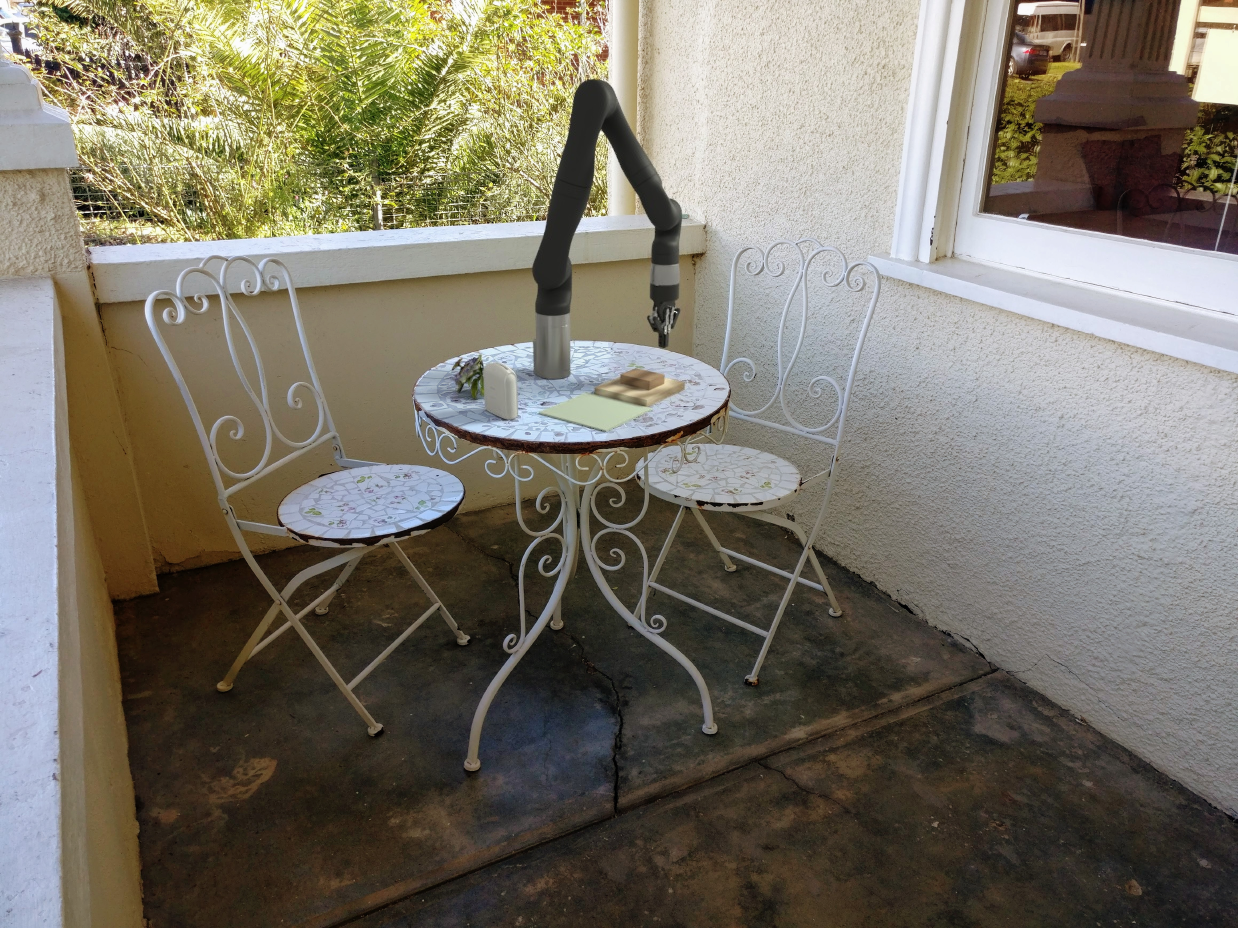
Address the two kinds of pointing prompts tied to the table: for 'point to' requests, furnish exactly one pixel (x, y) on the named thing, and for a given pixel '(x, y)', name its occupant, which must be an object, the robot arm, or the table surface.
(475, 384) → the passion flower
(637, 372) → the walnut slab
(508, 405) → the photo printer
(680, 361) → the table surface
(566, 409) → the sage mat
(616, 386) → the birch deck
